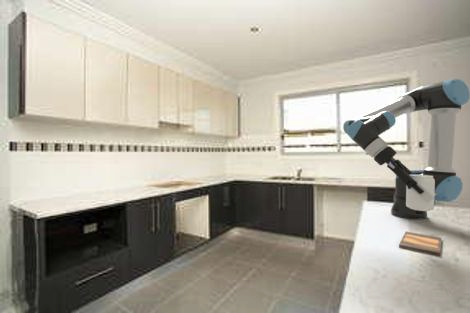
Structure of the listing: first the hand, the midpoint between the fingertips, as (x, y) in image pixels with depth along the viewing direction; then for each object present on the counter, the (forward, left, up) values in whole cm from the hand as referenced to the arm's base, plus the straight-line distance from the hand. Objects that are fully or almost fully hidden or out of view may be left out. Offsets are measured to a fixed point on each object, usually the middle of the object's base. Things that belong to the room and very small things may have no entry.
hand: (431, 198), depth 87 cm
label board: (0, -3, -17) cm, 17 cm away
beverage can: (0, -3, -4) cm, 6 cm away
